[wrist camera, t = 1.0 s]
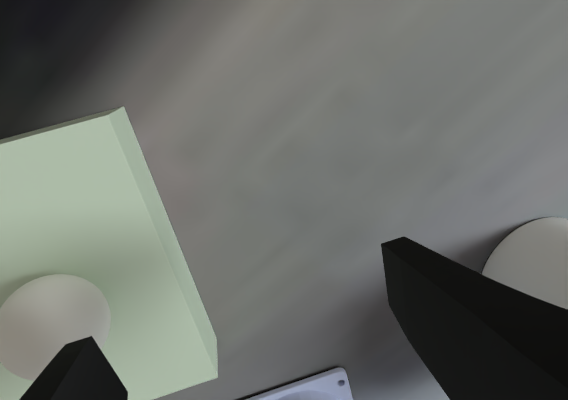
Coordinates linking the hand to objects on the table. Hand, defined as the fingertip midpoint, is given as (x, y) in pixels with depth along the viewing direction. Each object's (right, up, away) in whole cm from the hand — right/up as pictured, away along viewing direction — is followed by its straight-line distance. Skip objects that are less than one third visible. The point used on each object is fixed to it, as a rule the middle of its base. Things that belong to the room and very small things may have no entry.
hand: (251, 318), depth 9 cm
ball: (-8, -2, +6) cm, 10 cm away
